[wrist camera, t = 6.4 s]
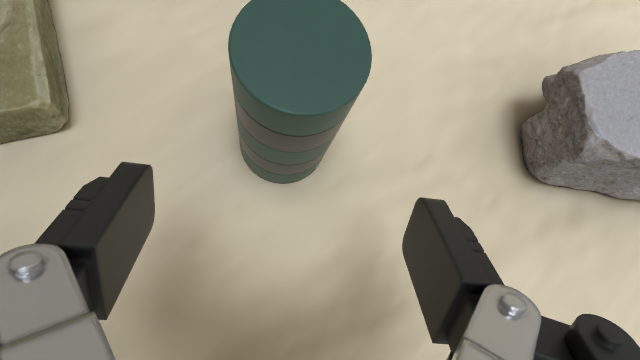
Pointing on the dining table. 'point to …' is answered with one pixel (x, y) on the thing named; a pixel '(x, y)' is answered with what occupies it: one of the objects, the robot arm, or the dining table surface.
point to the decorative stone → (589, 127)
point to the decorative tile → (30, 72)
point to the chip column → (294, 81)
